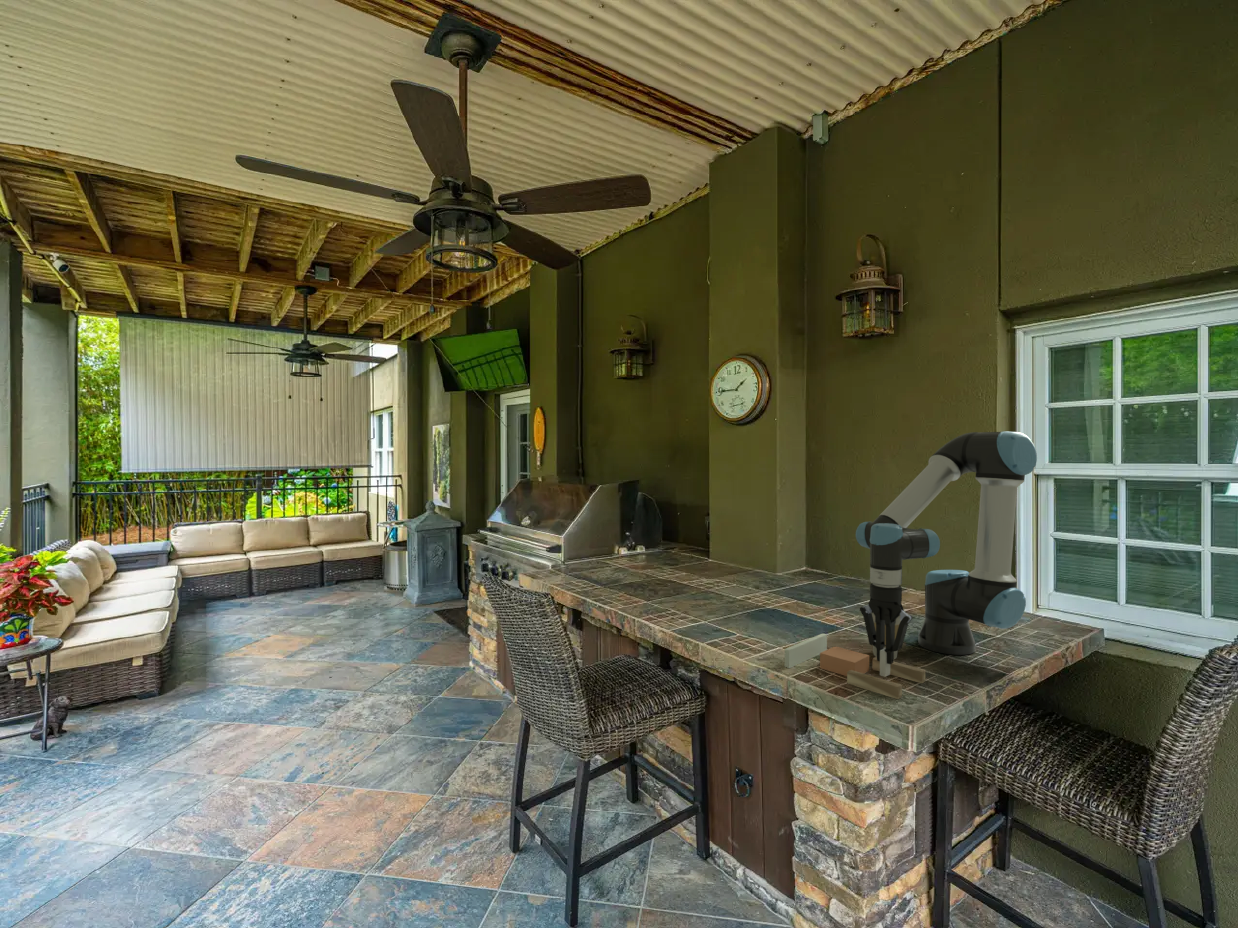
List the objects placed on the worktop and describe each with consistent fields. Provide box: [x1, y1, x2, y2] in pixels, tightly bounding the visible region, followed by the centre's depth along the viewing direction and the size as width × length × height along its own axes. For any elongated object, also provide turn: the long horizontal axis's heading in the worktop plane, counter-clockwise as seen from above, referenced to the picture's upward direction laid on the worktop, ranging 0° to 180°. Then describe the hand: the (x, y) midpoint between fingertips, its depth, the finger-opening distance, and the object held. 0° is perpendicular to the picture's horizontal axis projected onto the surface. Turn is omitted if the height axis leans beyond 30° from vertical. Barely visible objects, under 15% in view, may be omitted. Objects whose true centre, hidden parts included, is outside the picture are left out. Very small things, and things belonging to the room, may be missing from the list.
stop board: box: [784, 632, 828, 669], centre depth 172 cm, size 20×1×5 cm, turn 132°
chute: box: [846, 656, 926, 700], centre depth 155 cm, size 16×13×3 cm
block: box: [819, 645, 870, 677], centre depth 164 cm, size 8×10×4 cm
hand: (885, 674), depth 155 cm, fingers closed
